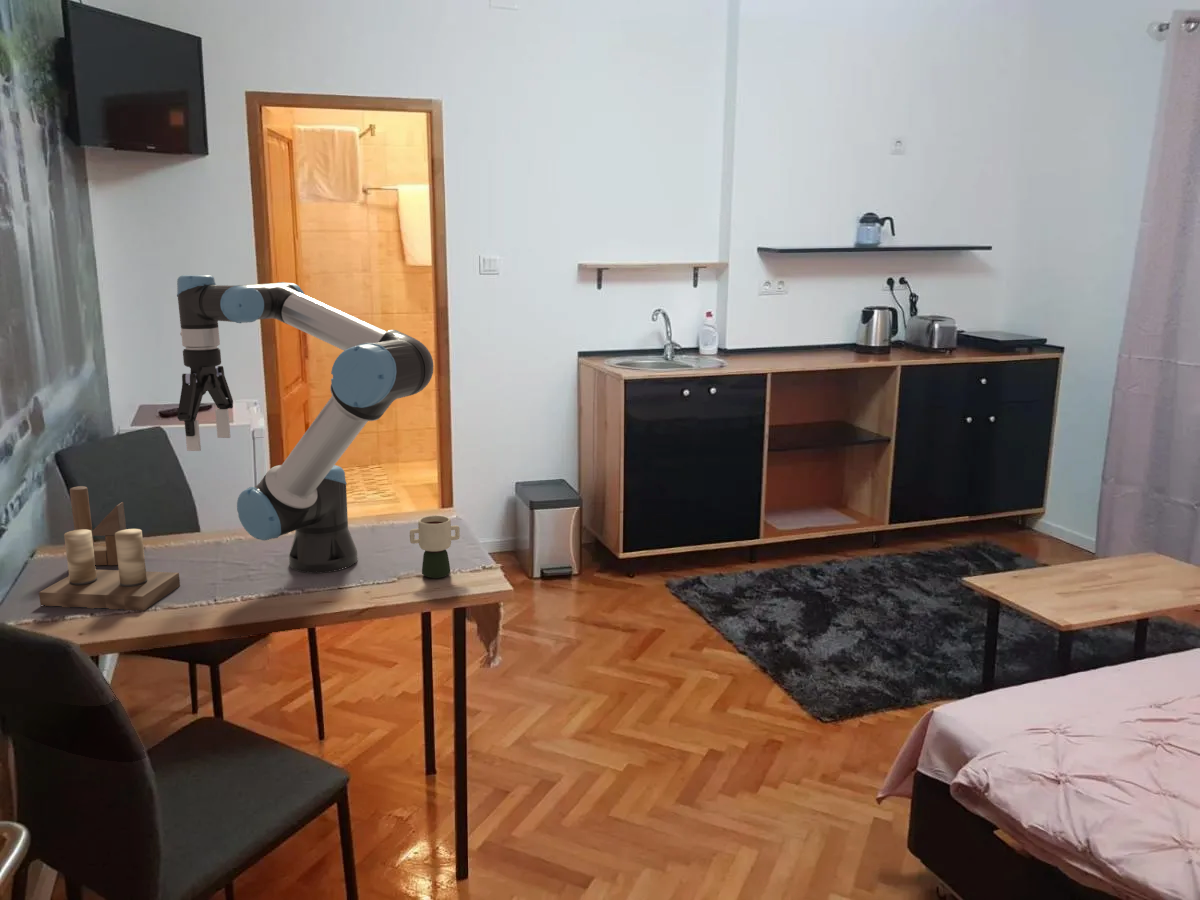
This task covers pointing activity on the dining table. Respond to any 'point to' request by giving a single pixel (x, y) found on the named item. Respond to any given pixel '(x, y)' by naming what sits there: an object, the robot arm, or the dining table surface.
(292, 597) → the dining table surface
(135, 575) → the beech peg
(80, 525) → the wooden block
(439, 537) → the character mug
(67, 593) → the walnut board
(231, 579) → the dining table surface
